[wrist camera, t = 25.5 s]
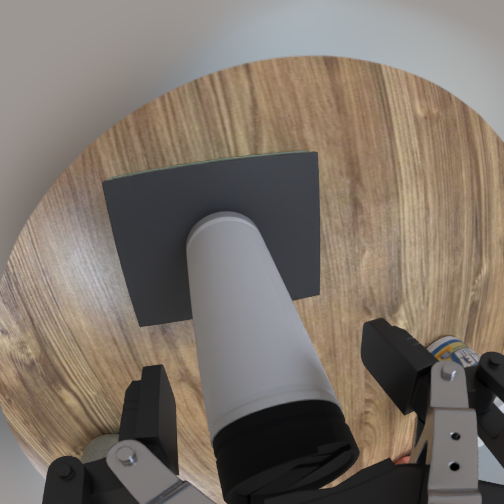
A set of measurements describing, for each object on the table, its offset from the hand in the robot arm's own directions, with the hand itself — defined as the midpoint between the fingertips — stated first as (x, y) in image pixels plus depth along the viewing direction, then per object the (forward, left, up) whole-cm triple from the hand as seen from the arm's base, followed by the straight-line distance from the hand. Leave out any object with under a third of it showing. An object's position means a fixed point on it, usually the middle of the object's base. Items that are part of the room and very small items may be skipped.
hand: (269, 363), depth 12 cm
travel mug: (0, 0, -16) cm, 16 cm away
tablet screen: (0, 0, -17) cm, 17 cm away
